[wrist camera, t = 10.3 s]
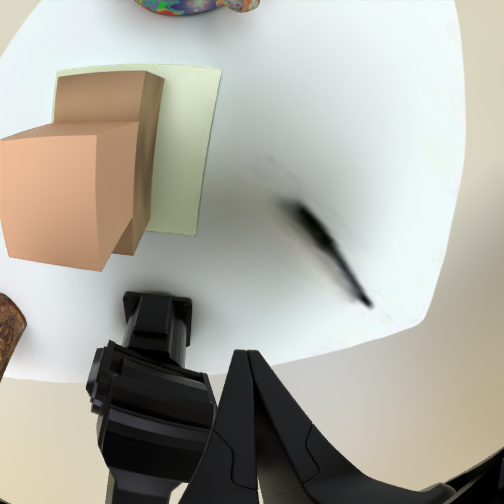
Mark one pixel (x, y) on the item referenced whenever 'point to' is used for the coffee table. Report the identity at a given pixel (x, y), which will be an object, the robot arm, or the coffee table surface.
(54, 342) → the coffee table surface
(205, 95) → the baseplate
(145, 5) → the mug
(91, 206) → the cube
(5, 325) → the book
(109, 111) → the walnut brick
